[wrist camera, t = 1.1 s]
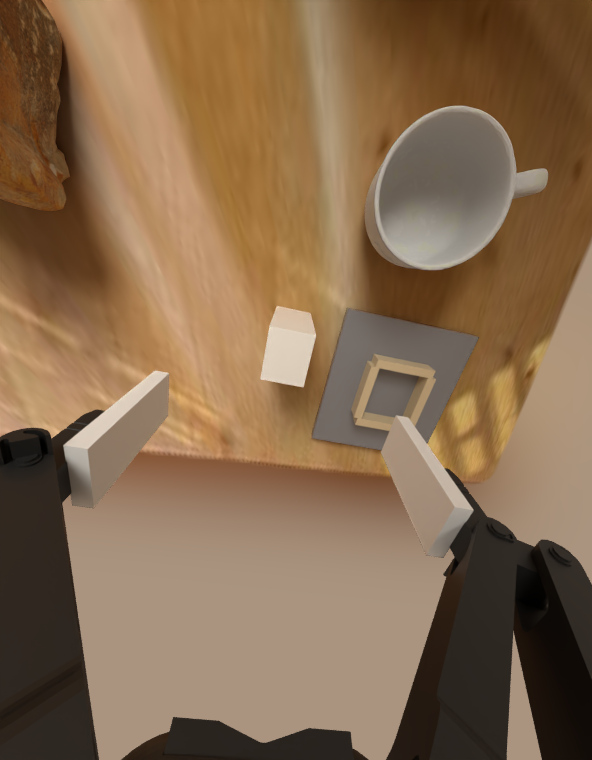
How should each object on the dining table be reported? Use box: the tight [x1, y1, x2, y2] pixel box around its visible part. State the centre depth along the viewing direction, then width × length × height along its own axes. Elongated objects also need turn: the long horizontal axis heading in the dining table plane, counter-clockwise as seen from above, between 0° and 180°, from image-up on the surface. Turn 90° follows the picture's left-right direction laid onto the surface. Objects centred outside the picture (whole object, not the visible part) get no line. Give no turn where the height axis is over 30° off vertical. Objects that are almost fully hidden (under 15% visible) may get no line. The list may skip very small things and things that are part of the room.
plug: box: [261, 306, 316, 387], centre depth 29 cm, size 5×4×10 cm
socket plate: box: [312, 308, 479, 450], centre depth 36 cm, size 18×16×3 cm
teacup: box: [365, 106, 548, 271], centre depth 25 cm, size 14×11×8 cm
